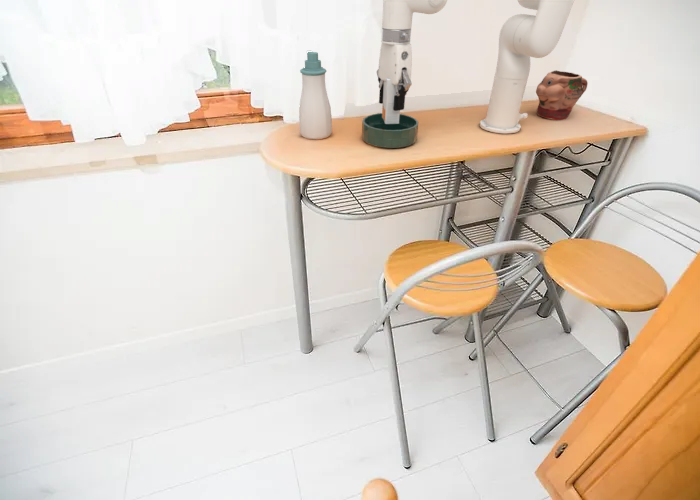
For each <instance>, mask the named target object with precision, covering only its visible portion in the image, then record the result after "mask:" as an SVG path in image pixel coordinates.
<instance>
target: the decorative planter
mask: <svg viewBox="0 0 700 500" xmlns="http://www.w3.org/2000/svg"><path fill="white" fill-rule="evenodd" d="M588 83H589V82H588V80H587V79H586V78H584V77H583V76H582V75H581V74H578V73H575V72H570V71H560V70H552V71H549V72H547V73H546V75H545V76H544V77H543V78H542V80H541V81H540V82H539V83H538V84H537V86H536V89H535V93H536V96H537V97H538V105H537V108H536V114H537V115H538V116H540V117H542V118H544V119H548V120H555V121H558V120H560V121H561V120H565V119H567V118H568V117H569V116H570V114H571V112H572V110H573V108H574V106H575V105H576V104H577V102H578V101H579V100H580V98H581V97H582V96H583V95H584V93H585V92H586V91H587V89H588Z"/></svg>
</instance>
